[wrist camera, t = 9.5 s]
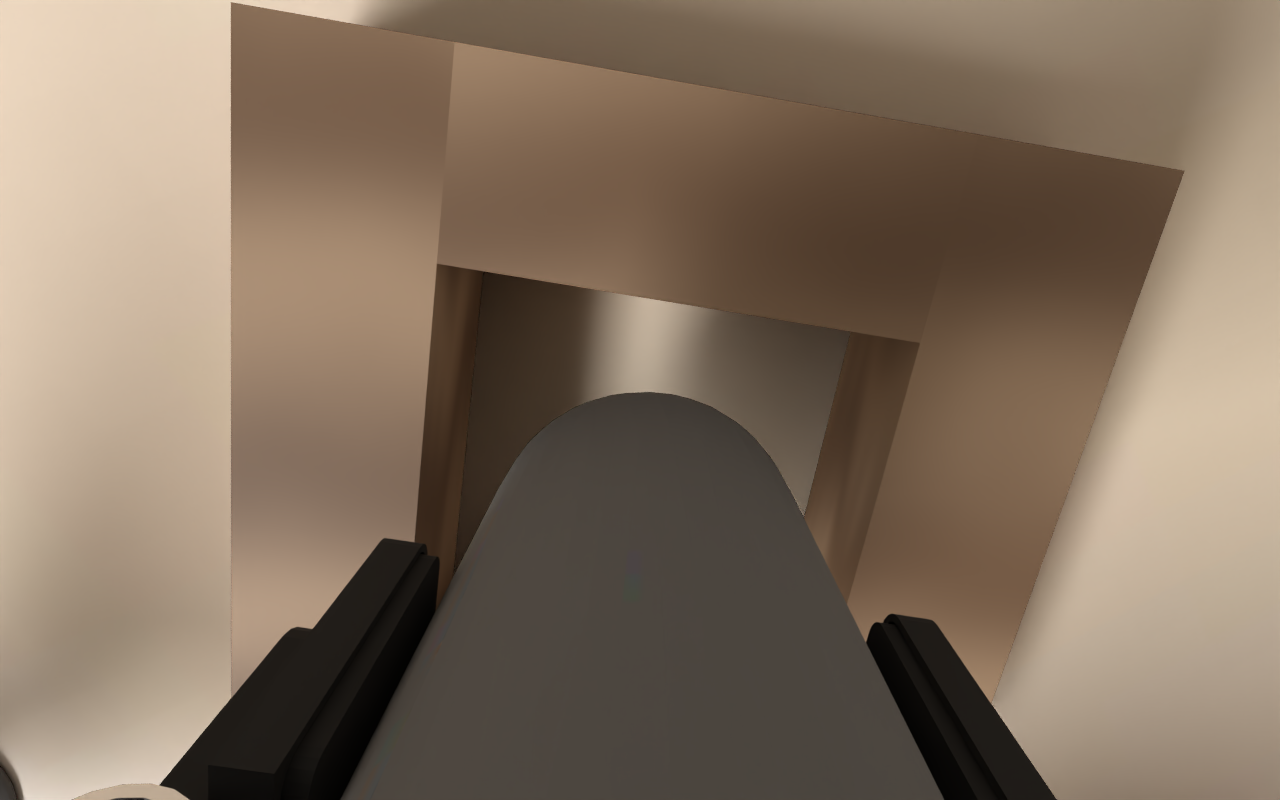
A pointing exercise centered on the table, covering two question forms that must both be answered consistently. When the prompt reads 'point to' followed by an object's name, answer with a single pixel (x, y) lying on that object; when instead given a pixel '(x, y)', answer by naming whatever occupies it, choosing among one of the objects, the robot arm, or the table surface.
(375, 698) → the robot arm
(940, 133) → the collar block
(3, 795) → the sundae
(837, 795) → the bottle
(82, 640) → the table surface
